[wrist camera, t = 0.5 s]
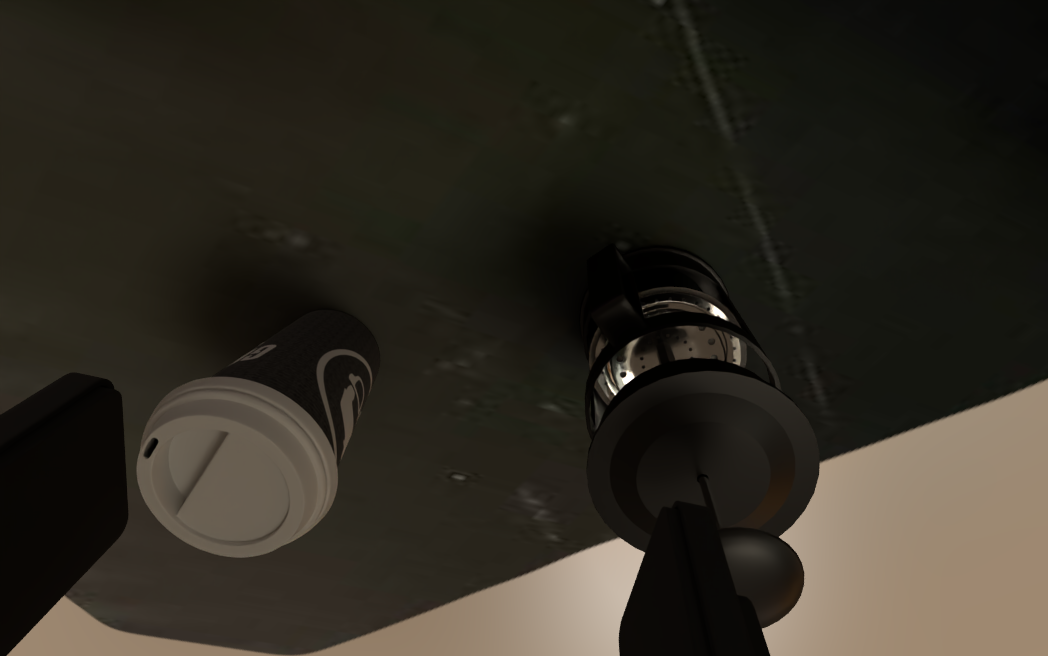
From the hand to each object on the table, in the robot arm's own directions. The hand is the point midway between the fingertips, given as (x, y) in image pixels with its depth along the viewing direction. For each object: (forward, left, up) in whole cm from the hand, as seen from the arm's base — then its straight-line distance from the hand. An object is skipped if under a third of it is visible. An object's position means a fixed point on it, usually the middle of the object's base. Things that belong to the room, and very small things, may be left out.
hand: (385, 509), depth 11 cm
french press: (+6, +9, -30) cm, 32 cm away
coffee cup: (+13, -11, -30) cm, 34 cm away
